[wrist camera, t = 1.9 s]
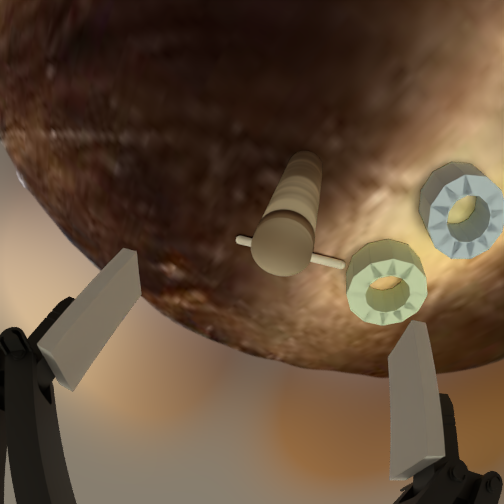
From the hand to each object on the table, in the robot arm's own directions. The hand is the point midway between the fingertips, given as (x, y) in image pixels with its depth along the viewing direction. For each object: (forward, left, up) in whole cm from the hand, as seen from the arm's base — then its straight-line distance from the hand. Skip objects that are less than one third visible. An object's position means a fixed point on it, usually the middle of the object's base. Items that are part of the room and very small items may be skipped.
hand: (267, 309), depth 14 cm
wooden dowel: (0, 0, -21) cm, 21 cm away
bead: (+10, +12, -21) cm, 26 cm away
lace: (+10, 0, -21) cm, 23 cm away
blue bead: (-1, +17, -21) cm, 27 cm away
